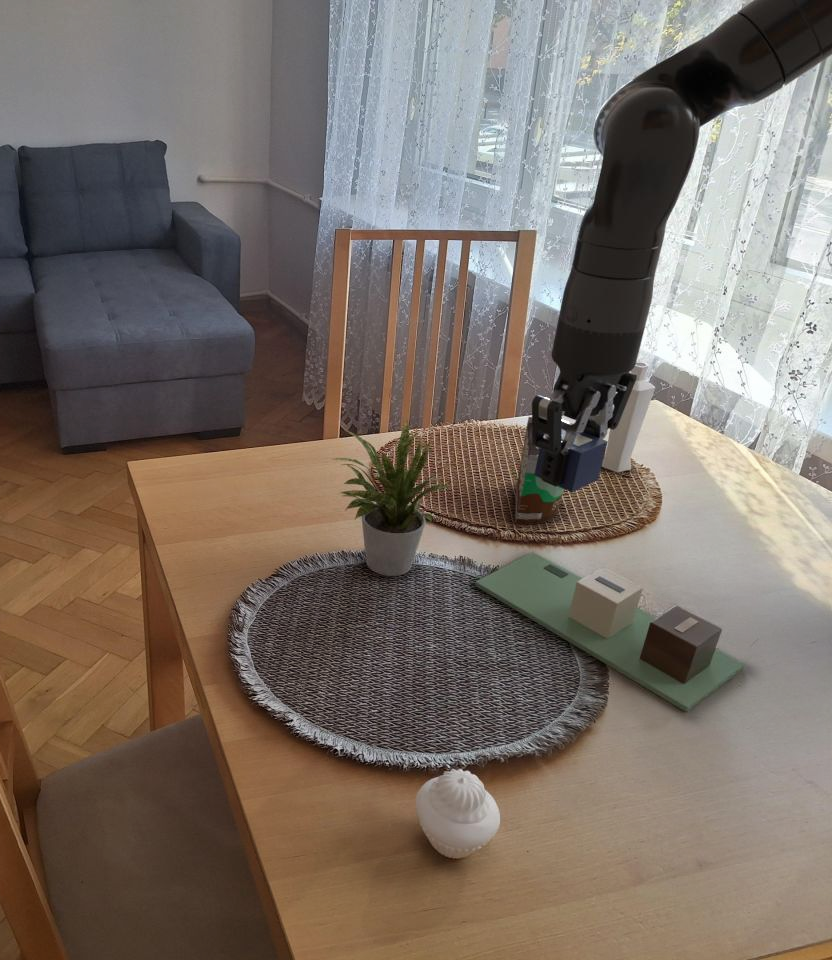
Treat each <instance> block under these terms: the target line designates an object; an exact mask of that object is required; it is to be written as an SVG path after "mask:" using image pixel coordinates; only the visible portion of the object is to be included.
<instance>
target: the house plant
mask: <svg viewBox="0 0 832 960" xmlns="http://www.w3.org/2000/svg"><path fill="white" fill-rule="evenodd" d="M342 429H343V428H342ZM343 431H345V432H346V433H349V434H350V435H352V436H353V437H355V439H357V440H358V441H359V442H360V443H361V444H362V446H363V447H364V449H365V450H366V453H367V454H368V457H369V458H370V460H371V463H372V464H373V466H374V468H375V470H376V472H377V474H378V476H377V475H375V474H374V472H373V471H372V470H370V468H369V467H368V466H366V465H365V464H364V463H362V462H360V461H358V460H356V459H353V458H347V457H345V458H344V457H336V458H332V461H333V460H334V461H344V462H351V463H354V464H351V463H343V464H341V466H346V467H348V468H349V469H350V470H352V471H353V472H354V473H355V475H356V476H357V477H354V478H350V479H348V480H346V481H345V482H344V483H343V485H342V486H344V485H357V486H362V487H363V488H364V489H365V490H360V489H359V490H358V489H351V490H347V491H341V492H340V494H344V495H342V497H346V498H347V497H349V498H354V499H353V500H352V501H350V503H349V504H348V506H347V507H346V508H345V510H344V512H346V511H347V510H348V509H354V508H358V510H357V511H356V515H355V517H354V520H356V519H357V518H360V517H361V524H362V525H361V526H362V534H363V545H364V554H365V564H366V566H367V568H369V569H370V570H371V571H372V572H374V573H376V574H378V575H382V576H387V577H398V576H402V575H405V574H407V573H408V572H409V571H410V570H411V569H412V566H413V563H414V560H415V557H416V553H417V551H418V548H419V544H420V541H421V538H422V535H423V532H424V529H425V526H426V522H427V521H426V519H428V520H429V522H430V523H431V524H433V521H432V520H433V517H434V516H433V515H432V514H431V513H422V511H420V510H419V509H421V503H420V502H419V500H420V499H422V498H423V497H424V496H425V495H427V494H430V493H431V492H434V491H438V490H440V489H447V488H448V489H450V490H451V489H452V490H453V488H452V487H451V486H450V485H447V484H436V485H432V486H430V487H428V488H427V489H424V488H425V486H426V485H428V484H429V483H430V482H432V481H434V482H435V481H437V482H438V481H440V482H444V481H443V479H442V478H439V477H437V478H433V477H434V476H436V475H437V474H438V473H439V472H441V471H442V470H443V469H445V468H447V467H448V466H449V465H450V464H452V462H451V463H449V464H446V465H445V466H443V467H441V468H439V469H438V470H437V471H436V472H434V473H433V475H430V477H428V478H427V479H426V480H425V481H423V482H422V483H420V484H418V485H416V483H417V481H418V478H419V476H420V474H421V472H422V470H423V468H424V466H425V464H426V462H427V459H428V455H429V450H430V444H431V443H430V440H429V441H428V443H427V444H426V446H425V448H424V450H423V446H424V445H423V443H424V439H423V438H424V437H423V436H421V437H420V439H419V442H418V445H417V446H416V448H415V452H414V456H413V459H412V461H411V463H410V466H409V468H408V469H407V468H405V467H406V462H407V458H408V455H409V453H410V450H411V447H412V445H413V443H414V439H415V438H416V437H417V435H418V432H416V433H414V434H412V435H411V436H410V422H409V419H407V420H406V421H405V423H404V425H403V427H402V429H401V434H400V437H399V441H398V445H397V449H396V453H395V454H396V463H395V464H396V467H394V464H393V462H392V461H391V460H390V458H389V457H388V455H386V454H385V453H384V452H382V453H381V454H380V456H381V459H380V456H379V454H378V452H377V450H376V448H375V447H374V446H373V445H372V443H370V442H369V441H367V440H366V439H363V438H362V437H361V436H359V435H358V434H356V433H354V432H352V431H349V430H346V429H343ZM422 450H423V452H422ZM355 464H358V465H360V466H361V467H364V468H366V469H367V470H368V471H369V472H370V473H371V474H372V475H373V477H372V478H371V477H370V476H369V474H368V473H367V472H366V471H365V470H364V469H362V468H361V467H359V466H357V465H355ZM355 467H356V468H355ZM357 468H358V469H360V470H361V471H362V472H363V473H364V474H365V476H366V477H367V479H368V480H369V481H367V480H366V478H365V477H364V475H363V473H361V472H360V470H358V469H357ZM373 478H375V479H376V480H377V481H378V482H379V484H380V485H381V487H382V488H383V491H384V493H383V492H380V491H379V489H378V488H377V486H376V484H375V483H374V482H373V481H372V479H373ZM432 478H433V479H432ZM430 479H431V480H430ZM415 485H416V486H415ZM423 489H424V490H423ZM422 490H423V491H422ZM421 491H422V492H421ZM419 493H420V494H419Z"/></svg>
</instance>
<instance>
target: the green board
mask: <svg viewBox="0 0 832 960" xmlns="http://www.w3.org/2000/svg"><path fill="white" fill-rule="evenodd" d="M581 579H583V578H582V577H581V576H579V575H577V574H575V573H573V572H571V571H569V570H568V569H565V568H563V567H561V566H560V565H558V564H556V563H554V562H552V561H550V560H548V559H547V558H545V557H543V556H541V555H539V554H537V553H535V552H534V551H531V552H530V553H528V554H526V555H523V556H522V557H520V558H518V559H516V560H514V561H513V562H510V563H509V564H507V565H505V566H503V567H500V568H499V569H497V570H495V571H493V572H491V573H489V574H487V575H486V576H484V577H481V578H480V579H478V580H476V581H475V583H474V586H475V587H476V588H478V589H479V590H481V591H483V592H485V593H486V594H488V595H490V596H491V597H493V598H495V599H496V600H498V601H499V602H502V603H503V604H504V605H506V606H508V607H510V608H511V609H513V610H515V611H516V612H518V613H520V614H521V615H523V616H524V617H526V618H528V619H530V620H531V621H533V622H535V623H536V624H538V625H540V626H541V627H543V628H544V629H546V630H548V631H550V632H551V633H553V634H554V635H557V636H558V637H560V638H561V639H563V640H565V641H566V642H568V643H570V644H571V645H573V646H575V647H576V648H578V649H580V650H581V651H583V652H585V653H587V654H588V655H590V656H592V657H593V658H595V659H596V660H598V661H600V662H602V663H603V664H605V665H606V666H608V667H610V668H612V669H613V670H615V671H616V672H618V673H619V674H622V676H624V677H627V678H629V679H630V680H632V681H633V682H634V683H637V684H638V685H640V686H642V687H644V688H645V689H647V690H648V691H650V692H651V693H653V694H655V695H657V696H658V697H660V698H662V699H663V700H665V701H667V702H669V703H670V704H672V705H673V706H675V707H676V708H679V709H680V710H681V711H683V712H685V713H687V712H689V711H690V710H691V709H692V708H694V707H695V706H697V704H700V702H701V701H703V700H704V699H706V698H707V697H709V695H711V694H712V693H713V692H714V691H716V690H718V689H719V688H720V687H721V686H723V685H724V684H725V683H727V682H728V681H729V680H730V679H731V678H733V677H734V676H735V675H737V674H738V673H739V672H741V671H742V670H743V669H744V666H745V664H744V663H743V662H741V661H739V660H737V659H735V658H733V657H731V656H729V655H728V654H725V653H723V652H722V651H720V650H719V649H717V648H716V649H715V651H714V654H713V657H712V660H711V663H710V665H709V666H708V667H707V668H705V669H704V670H703V671H701V672H700V673H698V674H697V675H696V676H694V677H693V678H692V679H690V680H689V681H688V682H686V683H685V684H683V683H681V682H680V681H678V680H676V679H675V678H673V677H671V676H669V675H668V674H666V673H664V672H662V671H661V670H659V669H657V668H655V667H654V666H652V665H650V664H648V663H647V662H645V661H643V660H642V659H640V655H641V652H642V648H643V645H644V642H645V638H646V635H647V632H648V628H649V625H650V622H652V621H653V620H655V619H656V618H657V617H656V616H654V615H652V614H650V613H648V612H646V611H644V610H643V609H640V608H639V607H637V610H636V614H635V617H634V621H633V623H632V624H630V625H629V626H627V627H626V628H624V629H622V630H621V631H619V632H618V633H616V634H615V635H613V636H611V637H610V638H608V639H606V638H605V637H603V636H601V635H599V634H598V633H596V632H594V631H592V630H591V629H589V628H587V627H585V626H584V625H582V624H580V623H579V622H577V621H575V620H573V619H572V618H570V617H569V612H570V608H571V604H572V600H573V596H574V591H575V587H576V583H577V582H578V581H579V580H581Z"/></svg>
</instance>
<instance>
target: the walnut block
mask: <svg viewBox="0 0 832 960" xmlns="http://www.w3.org/2000/svg"><path fill="white" fill-rule="evenodd" d="M722 632H723V629H722V628H721V627H720V626H717V625H716V624H714V623H711V622H710V621H708V620H706V619H704V618H702V617H700V616H698V615H696V614H694V613H692V612H690V611H688V610H686V609H684V608H682V607H680V606H678V605H674V606H673V607H671V608H670V609H669V610H667V611H665V612H663V613H662V614H660V615H659V616H658V617H656V619H655V620H653V621H652V622H650V625H649V628H648V632H647V635H646V638H645V642H644V645H643V648H642V652H641V655H640V659H642V660H643V661H645V662H647V663H648V664H650V665H652V666H654V667H655V668H657V669H659V670H661V671H662V672H664V673H666V674H668V675H669V676H671V677H673V678H675V679H676V680H678V681H680V682H681V683H683V684H685V683H686V682H688V681H689V680H690V679H692V678H693V677H694V676H696V675H697V674H698V673H700V672H701V671H703V670H704V669H705V668H707V667H708V666H709V665H710V663H711V660H712V657H713V654H714V651H715V649H716V650H717V646H718V643H719V640H720V637H721V634H722Z"/></svg>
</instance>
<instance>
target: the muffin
mask: <svg viewBox="0 0 832 960" xmlns="http://www.w3.org/2000/svg"><path fill="white" fill-rule="evenodd" d="M414 801H415V802H414V806H415V811H416V815H417V820H418V822H419V826H420V827H421V829H422V832H423V833H424V835H425V836H426V838H427V839H428V841H429V843H430V844H431V846H432V847H433V848H434V850H435V851H436V852H437V853H439V854H440V855H441V856H445V857H446V858H448V859H451V858H452V859H453V860H454V859H457V860H459V859H463V858H466V857H468V856H470V855H472V854H474V853H475V852H477V851H479V850H481V848H483V847H485V846H486V845H487V844H488V843H489V842H490V841H491V839H493V837H494V836H495V835H496V834H497V832H498V831H499V829H500V825H501V813H500V810H499V806H498V804H497V802H496V800H495V799H494V797H493V795H491V793H489V792H488V790H486V789H485V785H484V783H483V782H482V780H480V779H479V777H478V776H477V775H476V774H474V773H471V771H469V770H463V769H462V768H459V769H457V770H456V769H455V768H451V769H450V771H449V770H444V771H443V774H442V775H439V776H437V777H433V778H430V779H429V780H427V781H426V782H425V783H423V785H422V786H421V787H420V788H419V790H418V792H417V793H416V796H415V800H414Z"/></svg>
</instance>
